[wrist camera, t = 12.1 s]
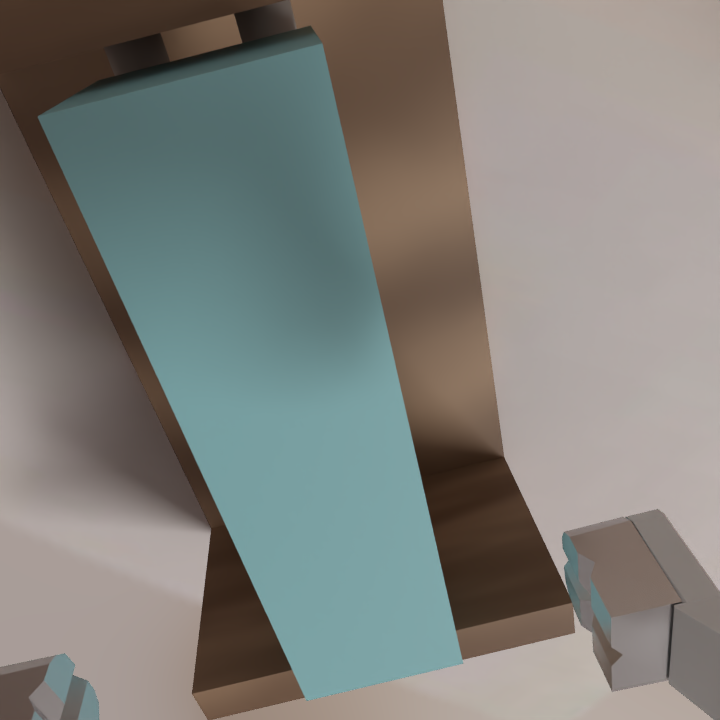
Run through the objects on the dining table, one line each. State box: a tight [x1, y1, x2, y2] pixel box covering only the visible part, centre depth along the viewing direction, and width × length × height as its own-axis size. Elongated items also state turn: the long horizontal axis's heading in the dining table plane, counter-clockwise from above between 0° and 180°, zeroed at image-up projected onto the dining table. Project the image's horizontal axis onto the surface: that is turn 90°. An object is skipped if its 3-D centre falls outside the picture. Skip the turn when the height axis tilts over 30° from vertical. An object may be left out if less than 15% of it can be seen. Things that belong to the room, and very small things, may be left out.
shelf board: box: [38, 26, 463, 701], centre depth 16 cm, size 16×4×4 cm, turn 13°
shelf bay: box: [0, 0, 575, 720], centre depth 19 cm, size 20×12×8 cm, turn 13°
